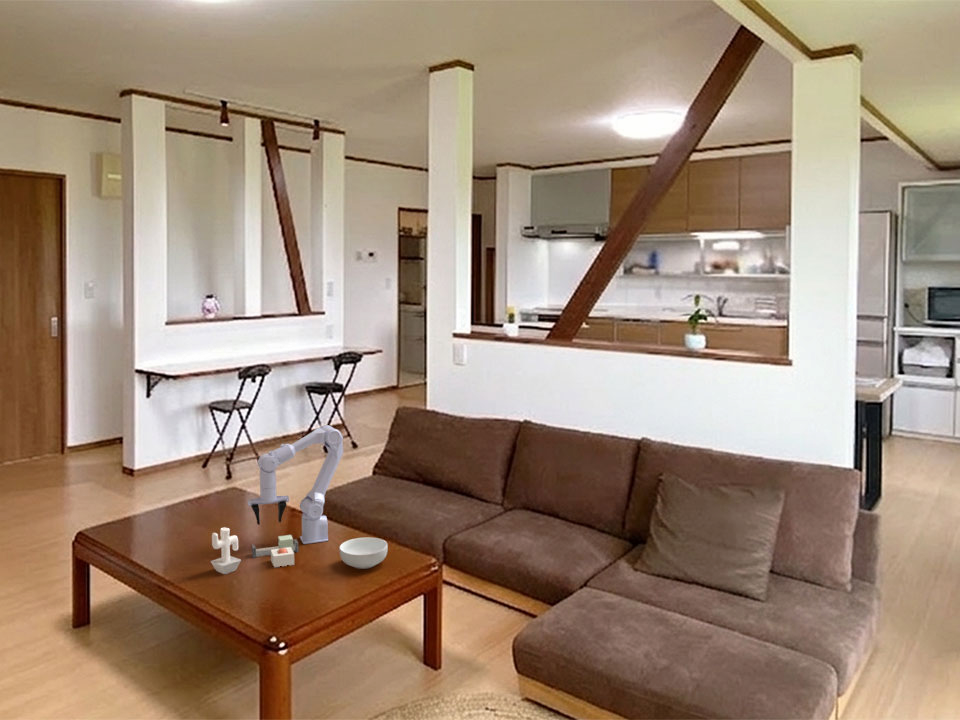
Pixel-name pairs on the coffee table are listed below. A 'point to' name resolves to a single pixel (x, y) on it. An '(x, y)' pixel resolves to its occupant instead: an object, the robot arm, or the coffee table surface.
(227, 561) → the figurine
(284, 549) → the plunger
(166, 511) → the coffee table surface
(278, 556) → the box
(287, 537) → the block
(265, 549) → the slide rail
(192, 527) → the coffee table surface
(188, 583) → the coffee table surface
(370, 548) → the cereal bowl
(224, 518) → the coffee table surface
